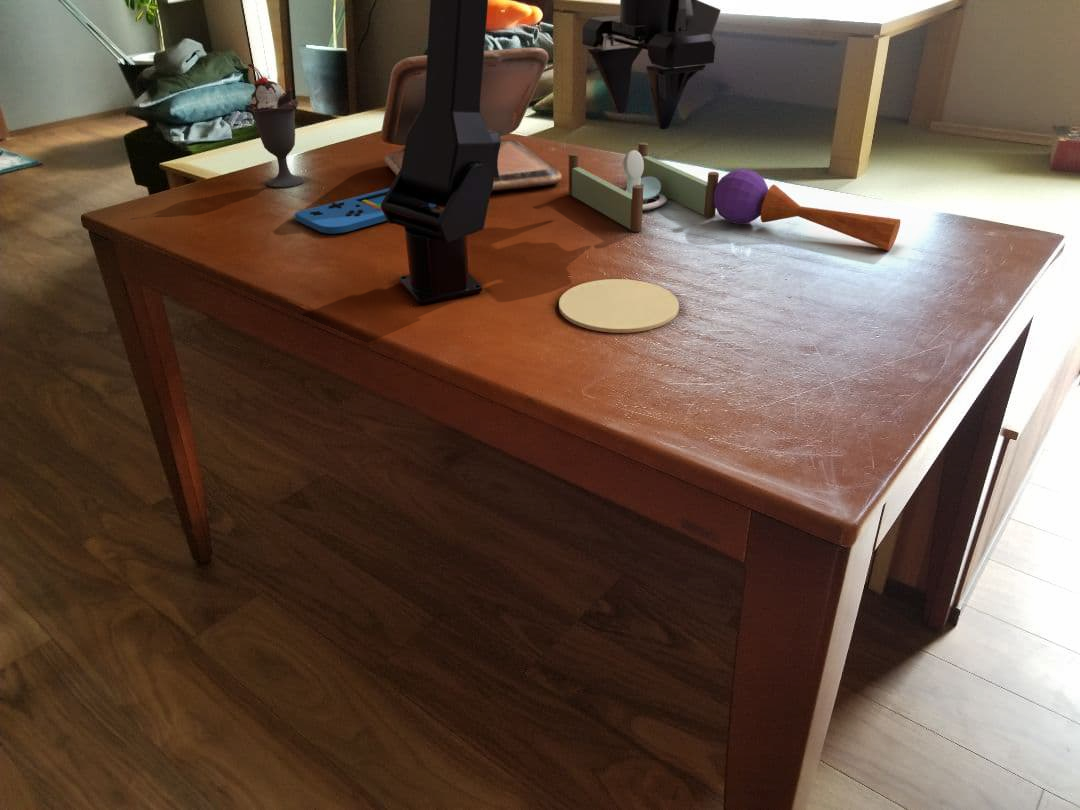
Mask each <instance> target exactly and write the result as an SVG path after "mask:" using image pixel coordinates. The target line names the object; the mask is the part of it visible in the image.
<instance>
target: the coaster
mask: <svg viewBox="0 0 1080 810" xmlns="http://www.w3.org/2000/svg"><path fill="white" fill-rule="evenodd" d="M558 300H559V301H558V310H559V313H560V314H561V316H562V317H564V319H565V320H567V321H568V322H570V323H572V324H574V325H576V326H578V327H581V328H585V329H587V330H592V331H597V332H600V333H601V332H602V333H611V334H612V333H616V334H624V333H625V334H631V333H639V332H645V331H650V330H655V329H657V328H660V327H662V326H664V325H666V324H668V323H670V322H672V321H673V320H674V318H676V317H677V315H678V313H679V309H680V303H679V300H678V298H677V296H675V295H674V293H672V292H671V291H670V290H668V289H667V288H664V287H662V286H660V285H658V284H654V283H651V282H646V281H641V280H635V279H627V278H626V279H625V278H621V279H620V278H613V279H612V278H608V279H598V280H593V281H592V280H591V281H588V282H584V283H580V284H578V285H575V286H573V287H571V288H569V289H567V290H566V291H564V292H563V293H562V295H561V296H560V298H559V299H558Z"/></svg>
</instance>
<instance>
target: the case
mask: <svg viewBox="0 0 1080 810" xmlns="http://www.w3.org/2000/svg"><path fill="white" fill-rule="evenodd" d="M548 62H549V54H548V52H547V50H545V49H544V48H541V47H516V48H504V49H491V50H489V49H488V50H484V58H483V71H482V84H481V96H480V113H481V116H482V118H483V121H484V123H485V126H486V128H487V130H492V131H497V132H499V134H500V137H504V136H507V135H510V134H512V133H513V132H515V131H516V130H517V129H518V128H519V127H520V126H521V124H522V121H523V119H524V117H525V115H526V112H527V110H528V108H529V105H530V103H531V101H532V99H533V97H534V95H535V92H536V90H537V87H538V85H539V84H540V81H541V78H542V76H543V74H544V71H545V70H546V66H547V65H548ZM426 69H427V54H426V55H416V56H410V57H405V58H404V59H401V60H399V61H398V62H396V64H395V65H394V66H393V68H392V70H391V73H390V79H389V86H388V92H387V99H386V104H385V110H384V114H383V115H384V116H383V121H382V126H381V133H380V138H381V140H382V141H383V143H385V144H389V145H395V146H405V143H406V138H407V133H408V131H409V129H410V128H411V126H412V124H413V123H414V121H415V119H416V118H417V116H418V114H419V113H420V111H421V109H422V108H423V105H424V101H425V87H426ZM500 140H501V144H500V149H499V154H498V172H499V177H498V178H495V177H494V183H493V188H492V192H499V191H507V190H517V189H527V188H536V187H537V188H538V187H544V186H545V187H546V186H551V185H555V184H558V183H560V182H561V181H562V180H563V175H562V173H561V172H560V171H558V170H557V169H555V167H553V166H552V165H550V164H549V163H548V162H546V161H545V160H543V159H542V158H541V157H539V156H538V155H537V154H535V152H533V151H532V150H530V149H529V148H527V147H526V146H525V145H523V144H522V143H521V142H519V141H516V140H512V139H500ZM404 149H405V147H403V148H402V149H401V150H397V151H392V152H391V153H388V154H386V155H385V157H384V163H385V164H386V165H387V166H388V167H389V169H390V170H391V171H392V172H393V173H394V175H395V176H397V174H398V173H399V171H400V169H401V166H402V160H403V154H404Z"/></svg>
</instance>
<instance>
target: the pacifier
mask: <svg viewBox="0 0 1080 810" xmlns="http://www.w3.org/2000/svg"><path fill="white" fill-rule="evenodd" d="M622 165H623V167H622V168H623V171H624V173H625V174H626V176H627V177H626V190H625V191H626V192H628V193H630V194H632V187H633V186H634V185H642V186H643V209H642V211H649V210H653V209H657V208H659V207H661V206H663V205H665V204H666V202H667V201H668V200H667V199H668V197H666V196H664V195H662V194H660V193H659V192H660V189H661V183H660V182H659V180H658V179H657V178H655V177H643V178H641V175H642V173H643V170H644V162H643V158H642V156H641V154H640V153H639V152H638V150H635V149H634V150H629V152H627V153H626V154H625V156H624V158H623V163H622ZM649 200H656V201H653V202H649ZM648 202H649V203H648Z"/></svg>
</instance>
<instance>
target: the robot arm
mask: <svg viewBox="0 0 1080 810" xmlns="http://www.w3.org/2000/svg"><path fill="white" fill-rule="evenodd" d="M488 4H489V0H429V16H428V17H429V18H428V34H427V35H428V36H427V51H426V53H427V54H426V55H427V69H426V87H425V101H424V105H423V108H422V109H421V111H420V113H419V114H418V116H417V118H416V119H415V121H414V123H413V124H412V126H411V128H410V129H409V131H408V133H407V138H406V143H405V145H404V148H405V149H404V154H403V160H402V166H401V169H400V171H399V173H398V174H397V175H395V178H394V179H393V182H392V183H391V185H390V187H389V188H390V189H389V190H388V192H387V194H386V196H385V198H384V199H383V201H382V203H381V209H382V211H383V213H384V215H385V217H386V220H387V221H386V222H387V223H388V224H390V225H397V226H399V227H403V228H404V234H405V235H404V237H405V241H406V242H405V244H406V254H407V255H406V256H407V263H408V272H409V274H405V275H400V276H399V277H398V282H399V284H400V285H401V286H402V287H403V288H404V289H405V290H406V291H407V293H408V294H409V295H410V296H411V297H412V298H413V300H415V301H416V303H417V304H418V305H419V304H420V305H426V304H430V303H435V302H439V301H445V300H449V299H454V298H458V297H463V296H468V295H473V294H478V293H481V292H483V285H482V284H481V283H480V282H479V281H478V280H476V279H475V278H474V277H473V275H472V274H470V270H469V268H470V267H469V255H468V254H469V253H468V239H467V237H468V236H470V235H472V234H475V233H477V232H480V231H482V230H484V228H485V223H486V218H487V213H488V210H489V209H488V208H489V203H490V198H491V194H492V192H493V191H492V188H493V183H494V177H495V178H498V177H499V172H498V154H499V149H500V144H501V140H502V139H501V136H500V134H499V132H497V131H492V130H487V128H486V126H485V123H484V121H483V118H482V116H481V113H480V96H481V84H482V71H483V58H484V51H485V45H486V32H487V21H488V20H487V19H488V7H489V5H488ZM720 14H721V8H718V7H715V6H713V5H711V4H708V3H706V2H703V1H700V0H619V15H610V16H609V15H608V16H598V17H589V18H588V19H587V20H586V21H585V23H584V24H583V26H582V32H581V33H582V35H581V36H582V39H581V41H582V42H581V44H582V45H584V46H588V47H589V48H587V52H588V54H590V55H591V57H592V59H593V61H594V64H595V65H596V67H597V71H599V74H600V76H601V78H602V81H603V83H604V85H605V87H606V90H607V92H608V94H609V97H610V100H611V102H612V105H613V107H614V109H615V112H616V113H618V114H625V113H626V112H627V108H628V104H629V97H630V89H631V78H632V69H633V64H634V62H635V61H636V59H637V58H638V56H639V55H640V53H641V52H642V51H643V50H646V51H647V56H648V59H649V61H650V64H652V65H646V73H647V77H648V83H649V87H650V93H651V99H652V103H653V109H654V113H655V119H656V122H657V126H658V129H659V130H668V129H669V128H670V127H671V124H672V121H673V119H674V117H675V113H676V111H677V108H678V106H679V103H680V100H681V98H682V96H683V93H684V91H685V89H686V87H687V85H688V82H689V81H690V80H691V79H692V78H693V77H694V76H695V75H696V74H697V73H698V72H701V71H705V69H706V68H707V66H708V64H714V63H715V62H716V53H717V43H718V42H717V41H716V39H714V37H713V34H714V31H715V28H716V26H717V22H718V19H719V17H720ZM429 203H431V204H435V205H436V206H438V207H441V208H443V209H439V208H437V207H429Z"/></svg>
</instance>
